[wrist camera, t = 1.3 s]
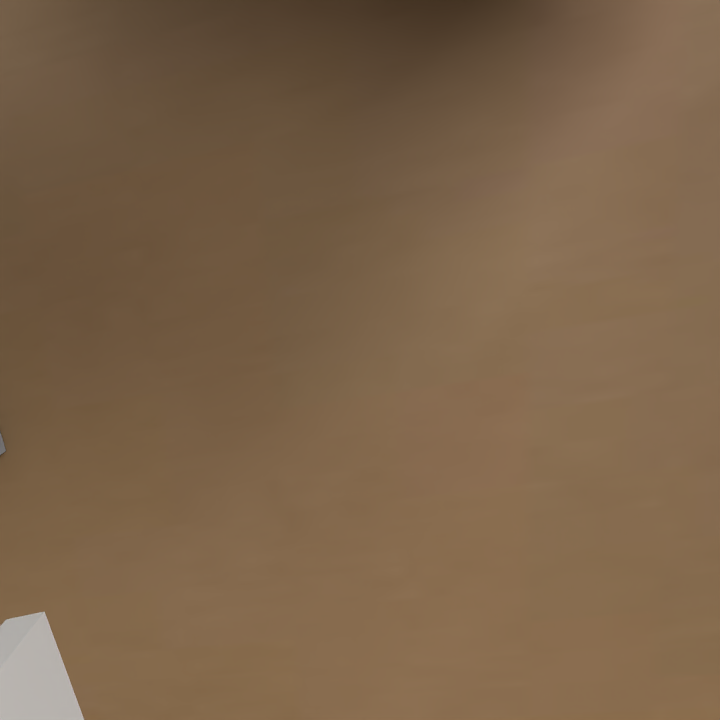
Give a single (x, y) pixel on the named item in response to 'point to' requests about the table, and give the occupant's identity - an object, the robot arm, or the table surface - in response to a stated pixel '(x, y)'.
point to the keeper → (2, 445)
